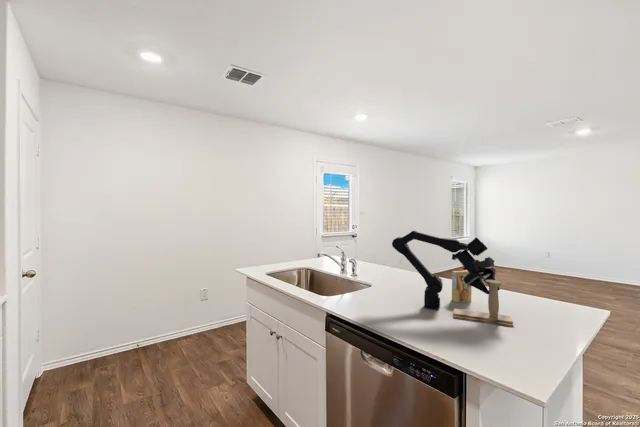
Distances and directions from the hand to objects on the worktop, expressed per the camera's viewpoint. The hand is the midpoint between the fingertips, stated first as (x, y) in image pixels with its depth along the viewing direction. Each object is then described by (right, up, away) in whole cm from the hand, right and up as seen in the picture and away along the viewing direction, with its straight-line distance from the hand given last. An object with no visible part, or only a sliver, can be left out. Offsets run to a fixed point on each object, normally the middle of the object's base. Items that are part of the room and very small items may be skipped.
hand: (493, 291), depth 125 cm
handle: (0, -11, 0) cm, 11 cm away
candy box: (-1, -12, +26) cm, 29 cm away
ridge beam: (-4, -12, +2) cm, 13 cm away
